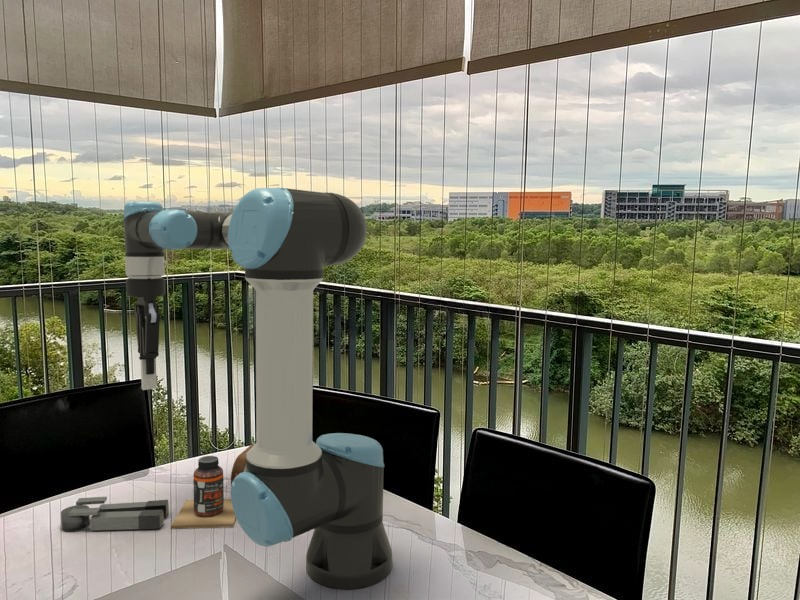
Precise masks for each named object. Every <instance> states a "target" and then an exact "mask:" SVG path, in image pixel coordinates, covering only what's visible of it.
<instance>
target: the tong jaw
mask: <svg viewBox="0 0 800 600" xmlns="http://www.w3.org/2000/svg"><path fill="white" fill-rule="evenodd" d="M107 500H108V496H93V497H91V496H90V497H79V498H78V499H77V500H76V502H75V505H86V506H89V505H99V507H98V508H101V511H100V512H122V511H142V510H163V517H164V519H167V518H168V515H169V513H170V512H169V510H170V509H169V499H157V500H147V501H137V502H134V501H133V502H120V503H117V502H116V503H106V502H107Z"/></svg>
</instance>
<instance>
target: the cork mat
mask: <svg viewBox="0 0 800 600" xmlns="http://www.w3.org/2000/svg"><path fill="white" fill-rule="evenodd" d="M236 520H237V518H236V516H235V513H234V510H233V506H232V502H231V498H224V504H223V510H222V511H221V512H220V513H219V514H216V515H214V516H208V517H202V516H199V515H196V514H195V513H194V499H186V500H185V502H184V503H183V505H182V507H181V508H180V510H179V511H178V513H177V514H176V517H175V518H174V519H173V521H172V523H171V525H170V529H171V530H174V529H175V530H177V529H182V530H183V529H208V528H210V529H211V528H234V525H235V523H236Z"/></svg>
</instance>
